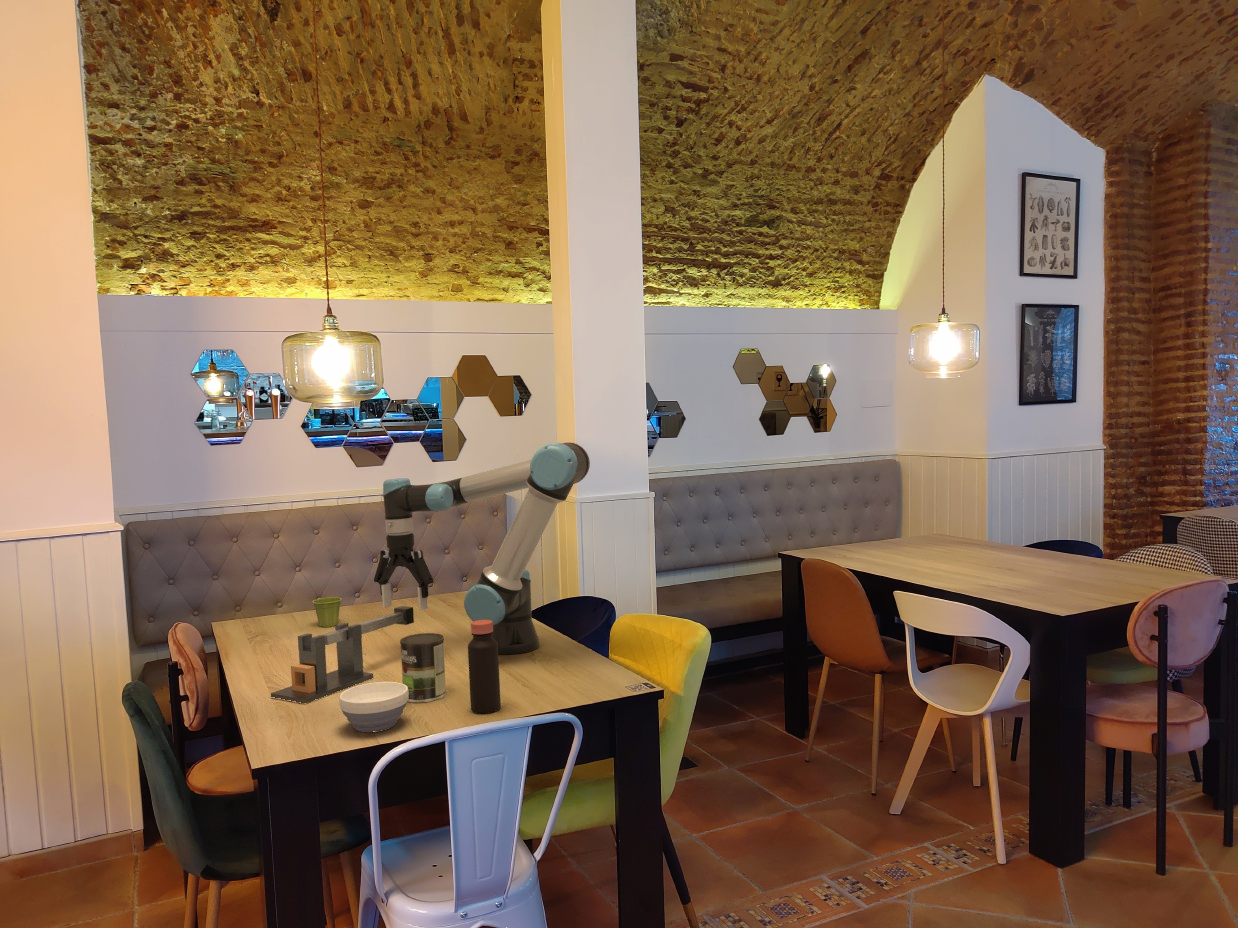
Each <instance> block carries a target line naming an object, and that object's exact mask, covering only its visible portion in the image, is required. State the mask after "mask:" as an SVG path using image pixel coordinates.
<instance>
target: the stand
mask: <svg viewBox="0 0 1238 928" xmlns="http://www.w3.org/2000/svg"><path fill="white" fill-rule="evenodd" d="M334 627H335V630H339V629H342V628H345V627H348V638H349V639H346V640H342V641H339V642H336V643H335V644H336V654H337V655H336V656H337V657H336V658H337V659H336V660H337V661H336V662H337V669H336V670H333V671H330V672H327V658H326V645H325V636H324V635H322V634H319V635H316V636H313V634H312V633H307V632H306V633H304V634H300V635H297V643H298V644H297V645H298V646H297V647H298V648H297V649H298V661H299V663H298V664H301V665H308V666H314V669H315V687H316V691H313V692H311V693H306V692H300V691H295V690H292V685H290V686H288V687H285V688H282V689H278V690H276V691H274V692H271V693H270V698H271V697H275V698H281V699H285V700H291V701H296V702H301V703H307V702H310V703H312V702H311V701H313V700H315V699H318V700H320V699H322V698H321V697H323V698H325V697H324V696H326V695H328V696H330V695H329V694H331V695H333V694H336V693H338V692H337V691H339V692H341V691H344V690H347V689H349V688H352V687H354V686H356V685H355V684H357V685H360V684H362V683H364V681H365V682H367V681H369V679H370V680H373V679H374V673H371V672H365V671H364V660H363V641H362V637H363V634H362V632H361V625H360V624H359V623H357V624H356V623H355V624H352V625H349V622H342V623H338V625H334ZM301 676H302V684H305V673H301ZM372 678H373V679H372ZM366 680H367V681H366ZM359 683H360V684H359ZM353 685H354V686H353ZM351 686H352V687H351ZM348 687H349V688H348ZM343 689H344V690H343ZM340 690H341V691H340ZM335 692H336V693H335ZM332 693H333V694H332ZM326 697H327V696H326ZM319 698H320V699H319ZM315 701H316V700H315ZM313 702H314V701H313ZM307 704H308V703H307Z"/></svg>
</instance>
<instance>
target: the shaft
mask: <svg viewBox="0 0 1238 928" xmlns="http://www.w3.org/2000/svg"><path fill="white" fill-rule="evenodd" d="M414 618H415V616H414V607H413V606H404V605H400V606H397V607H394V608H393V613H389V614H386V615H383V616H379V617H375V618H372V619H369V620H366V621H362V622H359V623H358V624H360V625H361V632H362V635H364V634H367V633H371V632H374V631H377V630H381V629H383V628H387V627H390V626H393V625H402V626H408V625H411V624H414V622H415V619H414ZM321 635H324V636H325V646H329V645H333V644H337V643H336V642H339V641H342V640H346V639H349V638H348V627H345V628H342V629H339V630H336V629H335V630H333V631H330V632H329V631H328V632H325V633H323V634H321Z"/></svg>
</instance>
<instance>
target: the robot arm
mask: <svg viewBox="0 0 1238 928" xmlns="http://www.w3.org/2000/svg"><path fill="white" fill-rule="evenodd" d="M590 460H591V459H590V457H589V454H588V452H587V451H586V450H585V449H584V448H583V447H582V446H581V445H579V444H577V443H574V442H563V443H561V442H553V443H548V444H546V445H544V446H542V447H541V448H538V450H537V451H536V452H535V453H534V455H533V456H532V457H531V459H529V460H525V461H521V462H517V463H513V464H510V465H506V466H501V467H499V468H494V469H490V470H486V471H483V472H480V473H475V474H470V475H467V476H463V477H459V478H456V479H452V480H451V479H450V480H447V481H441V482H436V483H428V484H411V480H410V478H403V477H402V478H390V479H385V480H384V481H383V483H382V492H383V493H382V497H383V505H384V507H383V508H384V523H385V533H386V534H387V535H386V549H383V550H380V551H379V552H380V553H379V561H378V563H377V567H376V572H375V574H374V577H373V582H374V583H378V585H379V589H380V590H379V591H380V596H381V599H382V600H381V601H382V602H381V603H382V608H383V609H386V608H390V607H392V593H391V592H392V591H391V583H390V579H391V577H392V576H393V573H394V572H395V570H396V568H397V567H401V568H404V567H405V569H407V570H408V571H409V573H410V574H411V575H412V576H413V578H414V579H415V581H416V582H417V584H418V586H417V601H418V602H417V603H418V611H424V610H427V609H428V608H429V607H428V597H429V586H430V585H431V584H434V579H433V576H432V574H431V572H430V569H429V566H428V565H427V563H426V561H425V558H424V553H423V550H421V549H420V550H415V551H414V546H415V534H414V533H413V531H414V521H413V520H414V519H413V513H416V512H435V513H438V512H443V511H448V510H450V509H451V508H452V507H457V506H458V507H459V506H461V505H464V504H467V503H472V502H476V501H479V500H485V499H487V498H492V497H496V496H500V495H504V494H508V493H513V492H517V491H521V490H525V489H528V490H527V492H526V495H525V496H524V498H523V500H522V503H521V505H519V509H518V511H517V513H516V515H515V517H514V518H513V521H512V522H511V525H510V527H509V529H508V531H507V533H506V535H505V537H504V539H503V541H502V543H501V546H500V548H499V550H498V552H497V554H496V556H495V557H494V560H493V561H492V564H491V565H489V566H485V567H483V569H482V572H481V573H480V575H479V578H478V580H477V581H476V584H475V585H473V586H471V588H469V589H468V591H467V592H466V594H465V596H464V599H463V605H464V610H465V613H466V615H467V616H468V618H469V619H470V620H471V621H472V622H474V621H478V620H491V621H492V622H493V634H492V638H494V639H495V640H496V641H497V643H498V655H514V654H515V655H516V654H522V653H528V652H532V651H534V650H536V649H538V648H539V647H540V638H539V636H538V635H537V634H538V633H537V630H536V627H535V624H534V622H533V618H532V617H533V616H532V615H533V614H532V593H531V591H532V589H531V583H532V581H531V577H530V576H531V575H530V571H529V570H528V569H526V568H527V566H528V564H529V562H530V559H531V558H532V555H533V554H534V552H535V550H536V548H537V545H538V543H539V542H540V539H541V538H542V535H543V534H544V532H545V529H546V528H547V526H548V523H549V521H550V520H551V518H552V516H553V513H554V511H555V510H556V507H557V506H558V504H559V503H563V502H565V501H566V500H567V498H568V497H569V496H568V495H570V492H571V491H572V488H573V487H574V485H575V484H577V483H580V482H581V481H582V480H583V479H584V478H586V476H587V475H588V473H589V470H590V466H591V465H590V464H591V461H590Z"/></svg>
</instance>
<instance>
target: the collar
mask: <svg viewBox="0 0 1238 928" xmlns="http://www.w3.org/2000/svg"><path fill="white" fill-rule="evenodd" d="M290 672H291V673H290V675H291V686H292V690H295V691H300V692H306V693H311V692H313V691H316V687H315V669H314V666H308V665H301V664H300V663H296V664H293V665H291V666H290ZM301 673H305V684H302V676H301Z"/></svg>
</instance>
